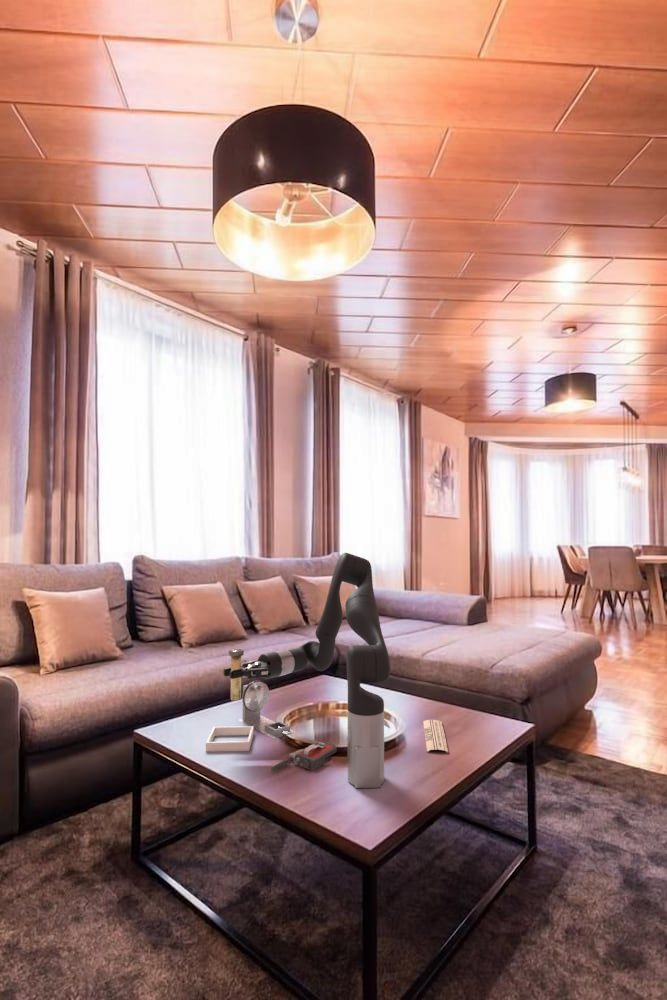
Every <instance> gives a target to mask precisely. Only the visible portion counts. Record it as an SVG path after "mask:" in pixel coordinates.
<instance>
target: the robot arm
mask: <svg viewBox="0 0 667 1000" xmlns="http://www.w3.org/2000/svg"><path fill="white" fill-rule="evenodd" d="M372 571H373V570H372V564H371V562H370V561H369V560H368V559H366V558H364V557H361V556H358V555H355V554H352V553H349V552H342V553H341V554H340V556H339V557H338V559H337V561H336V564H335V567H334V569H333V573H332V577H331V580H330V586H329V589H328V593H327V596H326V601H325V605H324V608H323V612H322V614H321V617H320V619H319V622H318V624H317V627H316V630H315V632H314V633H315V637H316V639H317V640H318V641H315V640H311V641H310V640H309V641H307V642H305V643H303V644H302V645H299V646H298V647H296V648H291V649H287V650H284V649H283V650H276V651H270V652H266V653H265V652H264V653H262V654H260V655H259V657H258V659H257V660H255V659H253V660H250V661H247V659H243V660H242V659H241V669H237V670H232V671H231V666H230V667H225V668H224V669H223V673H222V674H223V676H224V677H229V679H230V680H231V679H235V678H239V677H241V678H243V679H245V678H247V679H257V678H258V679H259V678H260V679H261V678H262V679H264V680H268V679H273V678H278V677H282V676H286V675H288V674H291V673H296V672H301V671H303V670H304V669H306V668H307V666H308V664H310V666H312V668H314V669H315V670H317V672H323V671H325V670H327V669H329V667H330V666H331V664H332V663H333V659H334V654H335V647H336V638H337V636H338V633H339V631H340V629H341V626H342V623H343V619H344V615H343V613H344V612H343V607H342V604H341V603H342V602H341V596H340V595H341V593H340V590H341V586H342V583H346V584H350V585H353V586H356V589H355V590H354V591H352V592H351V593H350V594H349V596H348V597H347V599H346V601H345V606H344V607H345V614H346V615H345V616H346V621H347V624H348V626H349V628H350V629H351V630H352V631H353V632H354V633H355V634H356V635H357V636H358V637H359V638H361V639H362V640H363V641H365V643H367V644H366V645H365V644H364V645H363V644H362V645H359V644H357V645H356V644H355V645H350V646H349V647H348V648H347V652H346V658H345V659H346V676H347V677H346V679H347V781H348V782H349V784H351V785H352V786H354V788H355V789H364V788H365V789H367V788H368V789H370V788H371V789H373V788H375V789H376V788H378V789H379V788H381V785H382V784H383V783H384V782H385V702H384V699H383V698H382V696H380V695H379V694H377V693H375V692H372V691H371V692H370V691H368V690H366V689H364V688H363V687H362V686H361V684H379V683H385V682H387V680H388V679H389V678H390V675H391V661H390V656H389V652H388V649H387V648H388V647H387V645H386V643H385V639H384V638H385V637H384V635H383V633H382V628H381V622H380V616H379V611H378V605H377V602H376V598H375V591H374V587H373V586H374V583H373V572H372Z"/></svg>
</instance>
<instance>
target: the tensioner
mask: <svg viewBox="0 0 667 1000" xmlns="http://www.w3.org/2000/svg"><path fill="white" fill-rule="evenodd" d="M269 698H270V689H269V687H268V684H267V683H266V682H264V681H263V680H259V679H258V680H257V679H256V680H253V681H251V682H249V683H247V684H244V685H242V695H241V700H242V718H241V719H238V721H239V722H241V723H242V724H245V725H247V726H254V730H256V731H259V732H260V733H262V734H264V735H267V737H268V736H269V737H270V738H272V739H277V738H280V737H283V735H282V732H283V731H288V732H290V734H293V733H296V732H297V731H295V730H293V729H291V725H289V724H286V723H284V722H283V721H279V720H278V721H274V720H272V719H270V718H268V717H265V716H263V715H261V710H262V709H263V708H265V706H266V705H267V703H268V701H269ZM278 726H280V727H282V728H278Z"/></svg>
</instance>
